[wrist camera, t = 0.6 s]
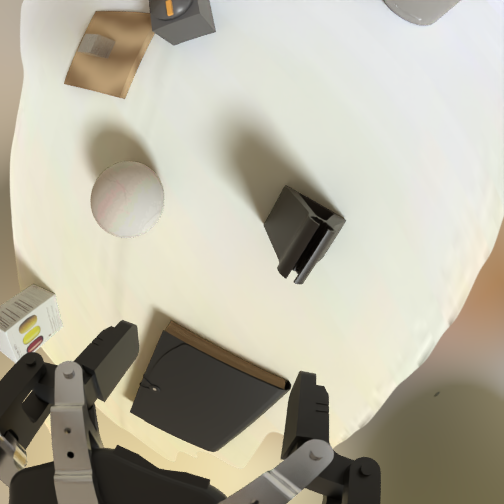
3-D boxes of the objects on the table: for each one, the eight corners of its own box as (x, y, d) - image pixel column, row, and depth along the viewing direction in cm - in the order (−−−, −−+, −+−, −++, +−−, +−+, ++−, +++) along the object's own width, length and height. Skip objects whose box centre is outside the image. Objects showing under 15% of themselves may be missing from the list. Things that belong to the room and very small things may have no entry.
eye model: (141, 144, 36) (97, 147, 27) (190, 190, 37) (155, 205, 28) (108, 196, 40) (66, 211, 30) (152, 239, 41) (115, 265, 32)
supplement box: (64, 327, 53) (20, 368, 38) (41, 315, 54) (-2, 351, 39) (55, 292, 50) (4, 332, 34) (32, 282, 51) (-16, 316, 35)
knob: (169, 14, 28) (143, -7, 21) (209, 0, 27) (189, -25, 19) (173, 45, 30) (146, 27, 23) (215, 31, 29) (195, 8, 21)
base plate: (100, 13, 28) (95, 11, 27) (163, 17, 28) (158, 14, 27) (69, 84, 34) (63, 83, 32) (125, 98, 34) (119, 97, 32)
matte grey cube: (102, 40, 29) (85, 33, 25) (115, 41, 29) (98, 34, 25) (95, 56, 30) (77, 51, 26) (107, 58, 30) (89, 52, 26)
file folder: (161, 331, 42) (290, 394, 43) (170, 317, 46) (291, 378, 47) (128, 412, 55) (216, 455, 56) (135, 401, 59) (219, 442, 60)
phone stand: (263, 224, 37) (247, 257, 26) (285, 184, 35) (278, 201, 24) (322, 257, 37) (329, 302, 26) (345, 219, 35) (365, 252, 24)
